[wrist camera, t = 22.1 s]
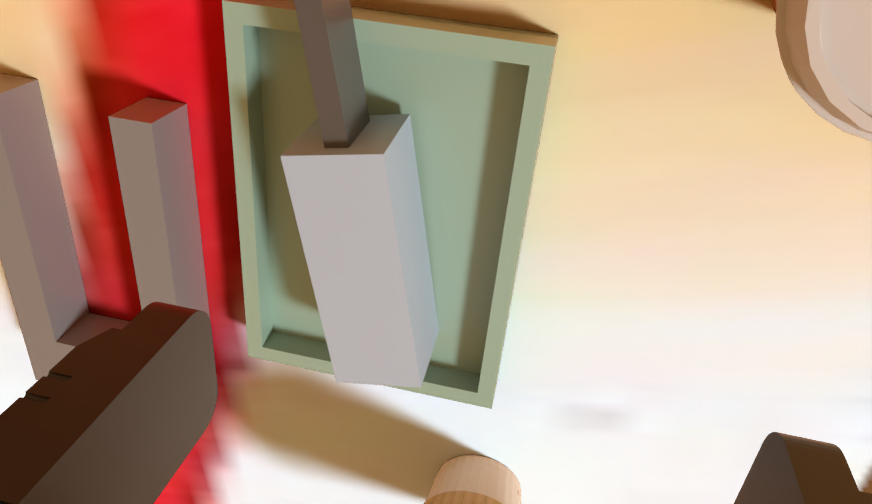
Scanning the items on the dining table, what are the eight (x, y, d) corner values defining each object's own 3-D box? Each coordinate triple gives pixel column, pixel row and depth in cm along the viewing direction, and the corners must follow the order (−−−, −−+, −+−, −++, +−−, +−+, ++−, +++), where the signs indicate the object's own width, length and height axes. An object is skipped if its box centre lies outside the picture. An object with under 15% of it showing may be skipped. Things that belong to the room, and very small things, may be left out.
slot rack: (0, 73, 39) (-49, 89, 36) (186, 103, 38) (151, 123, 35) (69, 349, 50) (35, 379, 47) (216, 382, 49) (191, 415, 46)
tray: (245, -8, 34) (221, 0, 32) (558, 34, 32) (555, 46, 30) (264, 333, 45) (248, 356, 43) (496, 382, 43) (491, 408, 41)
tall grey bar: (283, -49, 31) (234, -29, 27) (386, -59, 30) (352, -40, 25) (362, 327, 42) (336, 382, 38) (439, 330, 41) (420, 387, 37)
